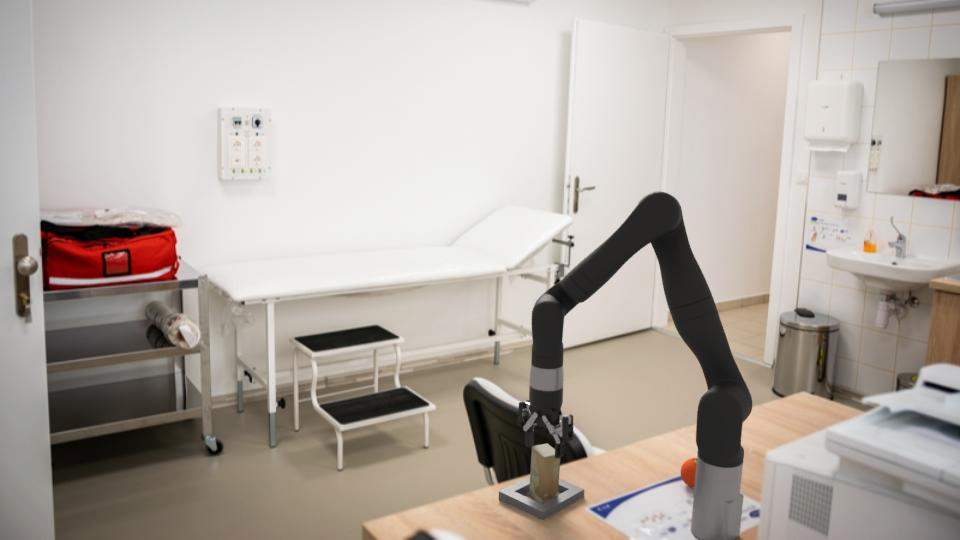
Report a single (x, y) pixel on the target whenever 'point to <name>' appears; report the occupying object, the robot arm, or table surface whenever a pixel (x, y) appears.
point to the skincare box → (544, 473)
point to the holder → (541, 511)
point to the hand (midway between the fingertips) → (543, 451)
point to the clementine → (689, 472)
